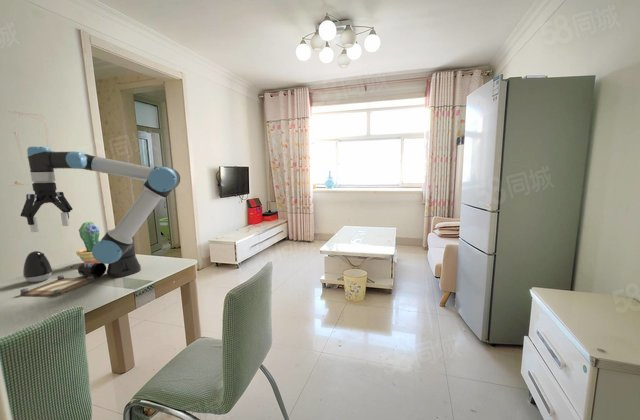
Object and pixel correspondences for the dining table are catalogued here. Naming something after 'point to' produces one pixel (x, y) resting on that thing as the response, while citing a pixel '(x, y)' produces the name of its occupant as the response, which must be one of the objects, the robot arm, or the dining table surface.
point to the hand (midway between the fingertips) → (51, 228)
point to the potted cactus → (88, 241)
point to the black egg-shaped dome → (36, 267)
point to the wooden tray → (57, 286)
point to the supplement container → (92, 269)
